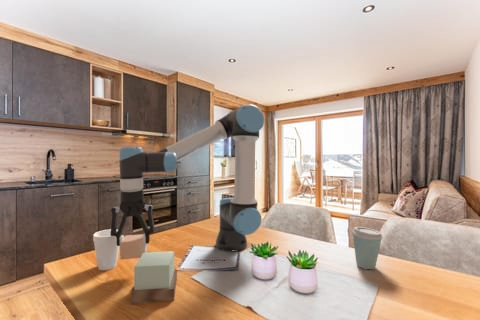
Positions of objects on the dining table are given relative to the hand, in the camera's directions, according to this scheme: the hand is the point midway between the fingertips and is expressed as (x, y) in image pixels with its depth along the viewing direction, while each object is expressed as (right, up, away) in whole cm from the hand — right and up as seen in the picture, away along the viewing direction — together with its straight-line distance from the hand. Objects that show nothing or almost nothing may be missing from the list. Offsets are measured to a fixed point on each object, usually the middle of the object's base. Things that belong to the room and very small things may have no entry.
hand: (133, 253), depth 86 cm
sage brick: (+12, -5, -10) cm, 16 cm away
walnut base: (+12, -9, -10) cm, 18 cm away
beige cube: (0, 0, 0) cm, 0 cm away
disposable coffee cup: (+88, -9, +8) cm, 89 cm away
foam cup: (-13, -8, +6) cm, 16 cm away
